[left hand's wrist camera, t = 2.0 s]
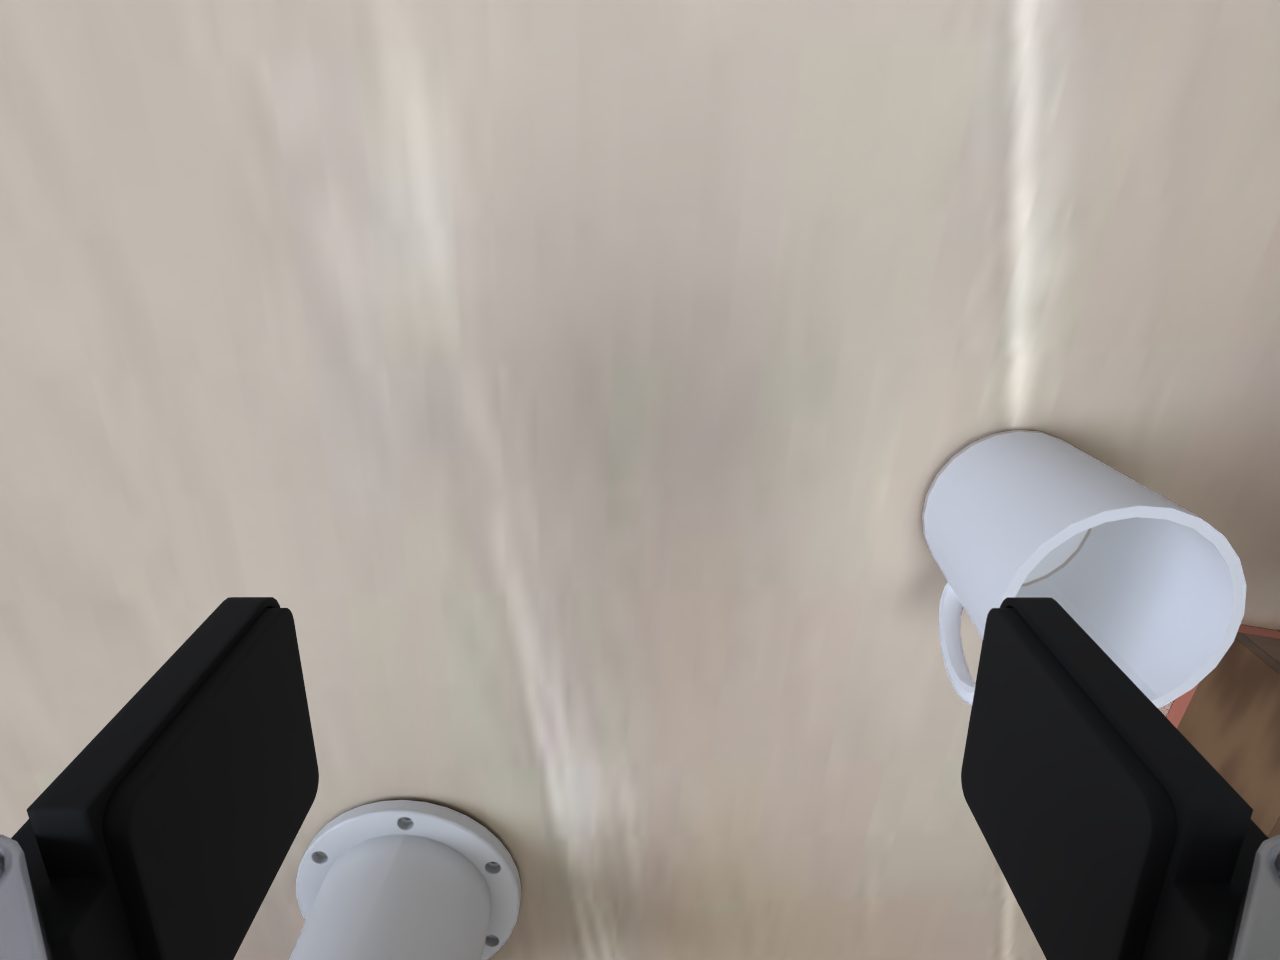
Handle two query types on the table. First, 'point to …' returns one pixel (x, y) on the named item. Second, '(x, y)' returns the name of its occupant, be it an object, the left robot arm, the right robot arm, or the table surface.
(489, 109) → the table surface
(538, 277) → the table surface
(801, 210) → the table surface
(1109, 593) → the mug
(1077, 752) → the left robot arm
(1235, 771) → the brown storage bin
